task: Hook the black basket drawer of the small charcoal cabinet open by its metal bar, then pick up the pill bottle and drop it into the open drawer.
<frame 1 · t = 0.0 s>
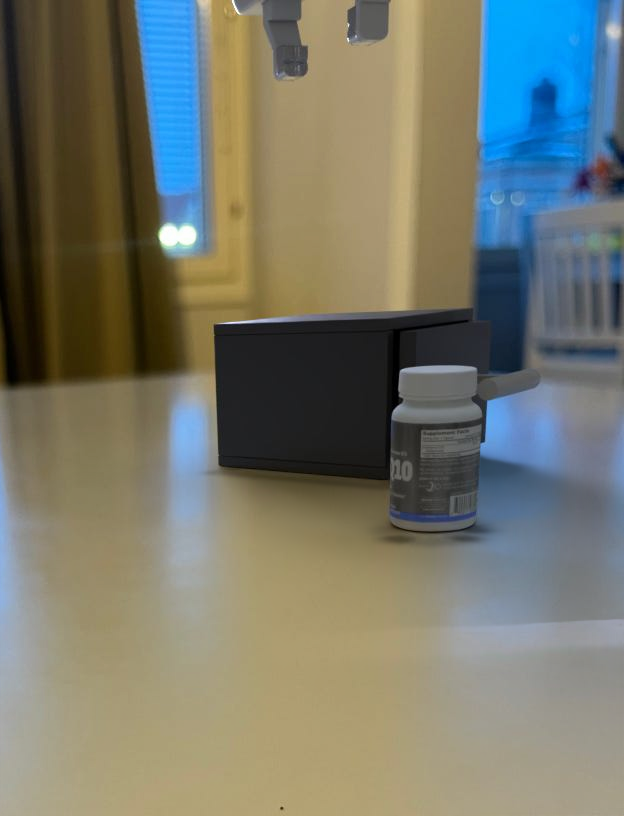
hand: (326, 62, 60), 26 cm above the table, tool pointing down, fingers open, 8 cm apart
pill bottle: (432, 526, 55), on the table
drawer: (396, 390, 72), point 5 cm above the table, slide at 0.5 cm
cabinet: (341, 458, 77), on the table
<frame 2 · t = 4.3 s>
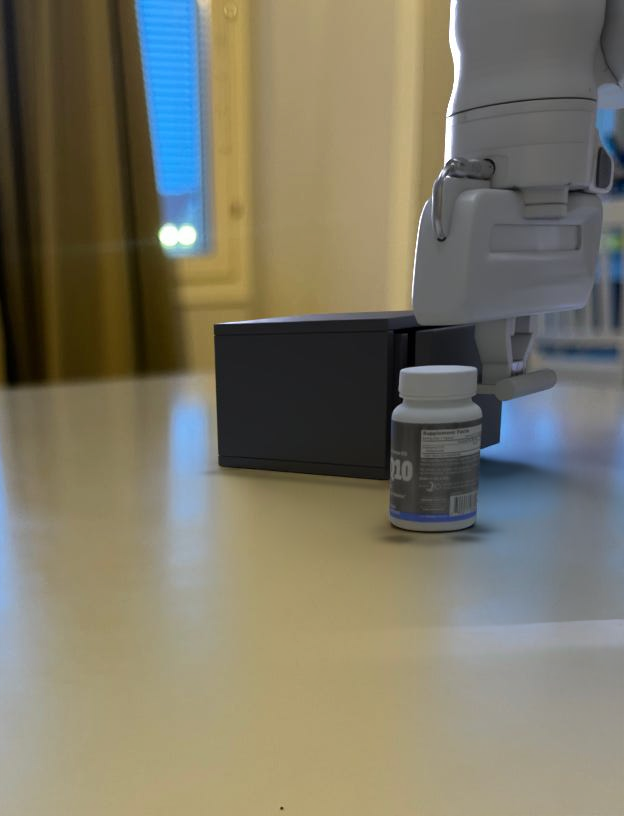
hand: (503, 388, 67), 6 cm above the table, tool pointing down, fingers closed
drawer: (411, 390, 71), point 5 cm above the table, slide at 1.7 cm
everything else where it was.
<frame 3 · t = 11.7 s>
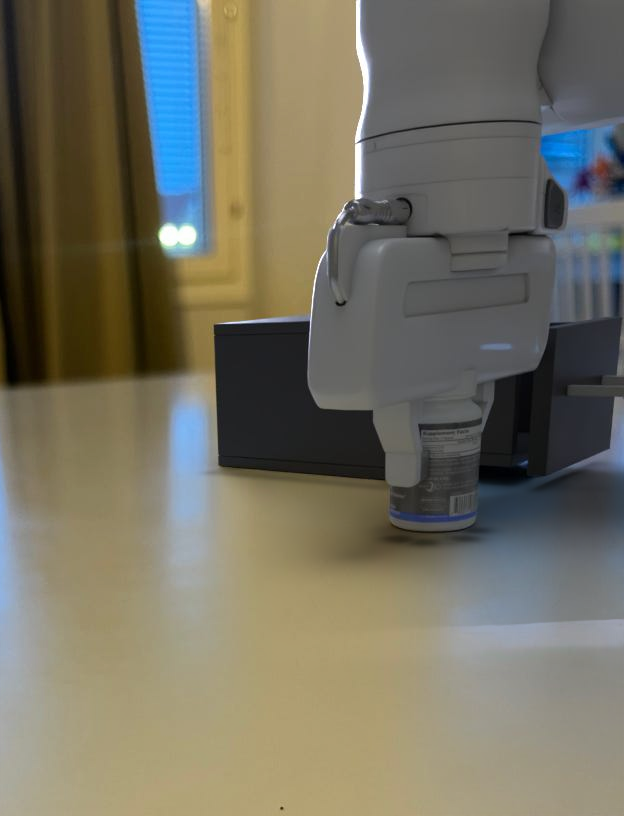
hand: (434, 474, 54), 3 cm above the table, tool pointing down, fingers closed on pill bottle, 5 cm apart
pill bottle: (431, 526, 55), on the table, touching gripper
drawer: (518, 392, 66), point 5 cm above the table, slide at 9.5 cm
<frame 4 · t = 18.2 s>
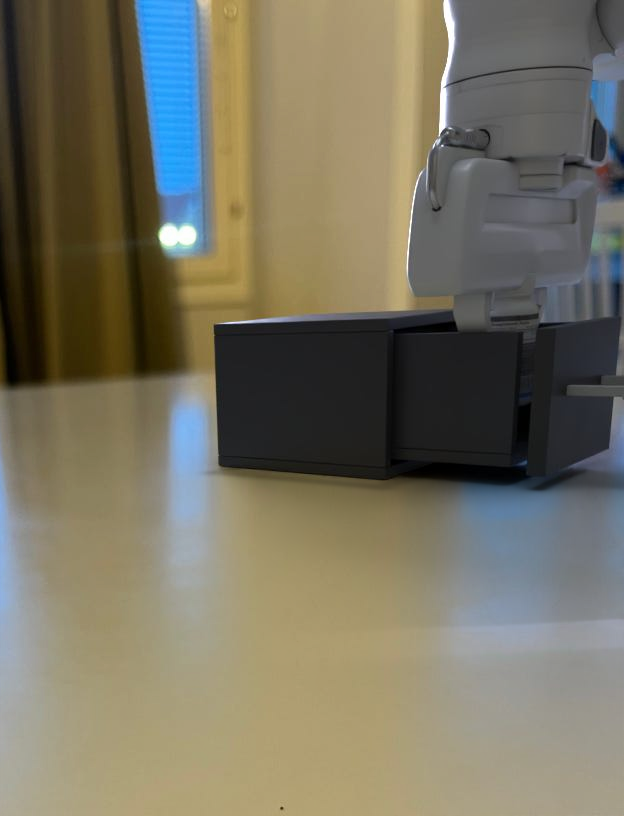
hand: (498, 363, 67), 7 cm above the table, tool pointing down, fingers closed on pill bottle, 5 cm apart
pill bottle: (495, 407, 68), point 4 cm above the table, touching gripper
drawer: (517, 392, 66), point 5 cm above the table, slide at 9.5 cm, touching gripper
when the fingers open (10 cm above the table, at t = 34.5 s): pill bottle drops 6 cm, resting on drawer.
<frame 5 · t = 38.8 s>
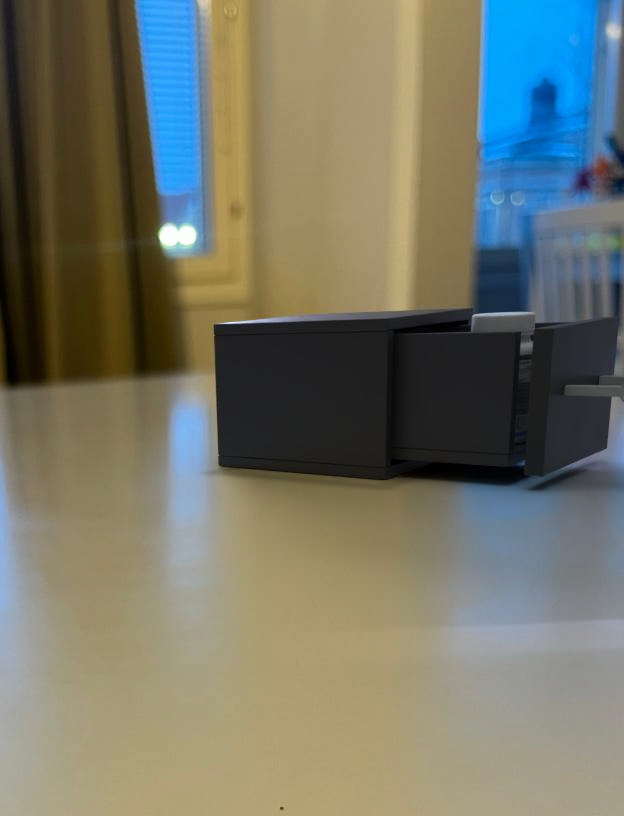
pill bottle: (496, 443, 68), point 2 cm above the table, touching drawer
drawer: (515, 392, 66), point 5 cm above the table, slide at 9.3 cm, touching pill bottle
at the end: drawer slide at 9.3 cm; pill bottle inside the target area in the drawer (0.8 cm from its centre), point 1.8 cm above the cabinet's base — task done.
